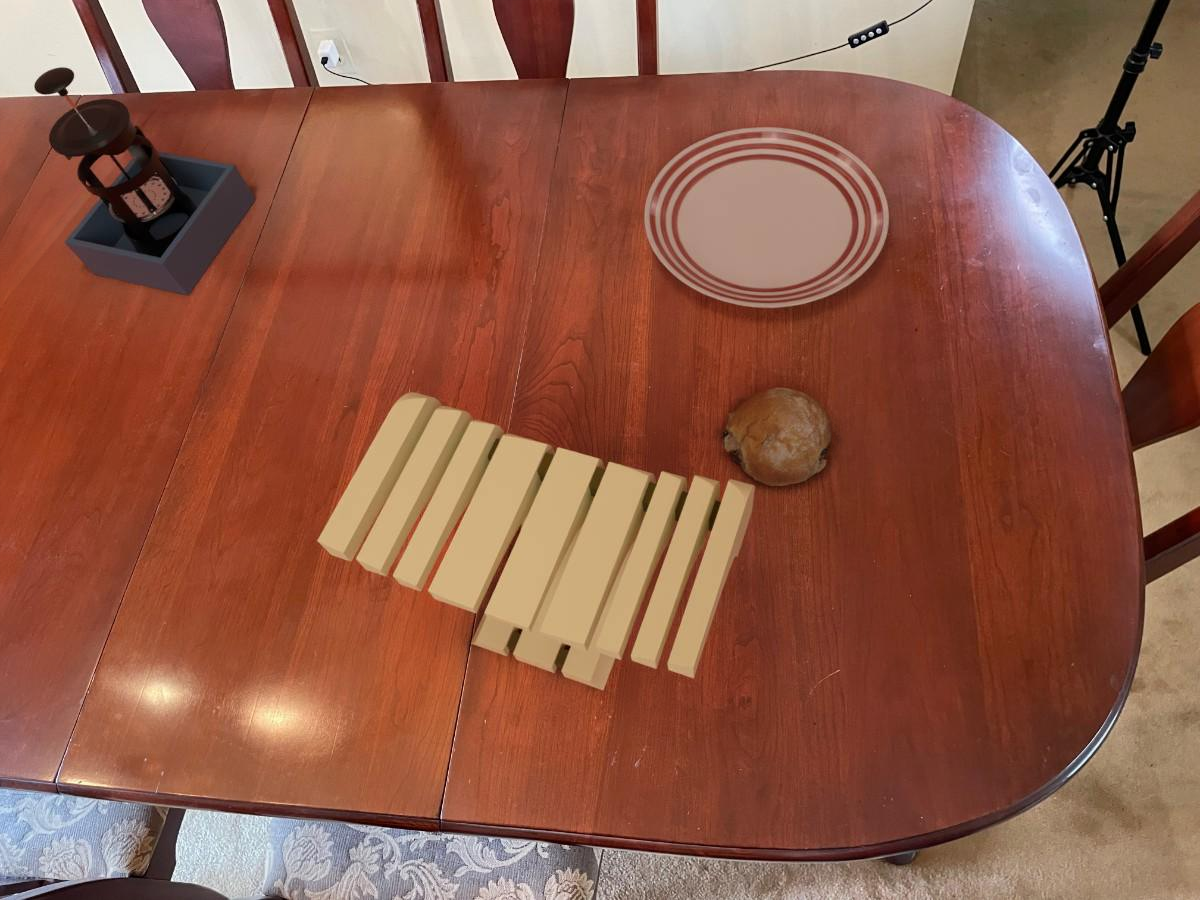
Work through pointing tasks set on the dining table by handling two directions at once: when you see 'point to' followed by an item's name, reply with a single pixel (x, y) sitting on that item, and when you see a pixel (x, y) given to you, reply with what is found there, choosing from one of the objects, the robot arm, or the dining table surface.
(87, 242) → the open box
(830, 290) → the dinner plate
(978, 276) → the dining table surface
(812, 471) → the bread roll
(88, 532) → the dining table surface
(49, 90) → the french press
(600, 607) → the slatted curved stool
